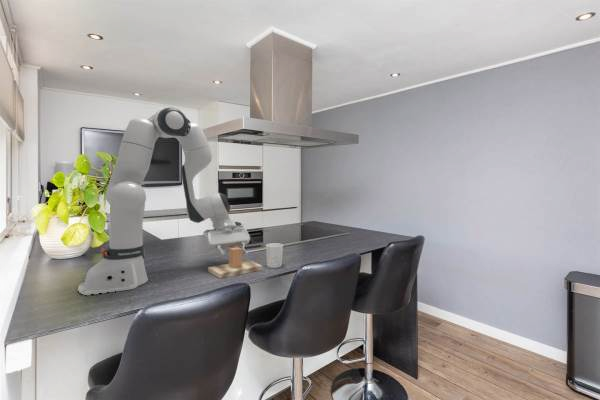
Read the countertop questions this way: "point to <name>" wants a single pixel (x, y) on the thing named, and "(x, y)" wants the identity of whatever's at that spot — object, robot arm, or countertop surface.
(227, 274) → the post base
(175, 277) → the countertop surface
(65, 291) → the countertop surface
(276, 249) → the white cup
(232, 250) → the orange brown wooden block
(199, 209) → the robot arm
